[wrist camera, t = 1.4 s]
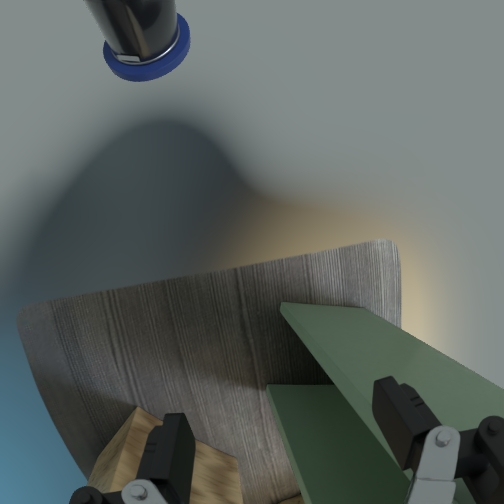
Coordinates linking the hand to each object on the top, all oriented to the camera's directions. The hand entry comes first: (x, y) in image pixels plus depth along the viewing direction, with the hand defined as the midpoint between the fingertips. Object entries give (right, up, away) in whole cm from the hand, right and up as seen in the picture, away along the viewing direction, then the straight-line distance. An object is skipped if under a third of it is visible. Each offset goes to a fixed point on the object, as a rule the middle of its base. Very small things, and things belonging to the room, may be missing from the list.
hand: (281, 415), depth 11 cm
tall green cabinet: (+7, -6, +25) cm, 26 cm away
